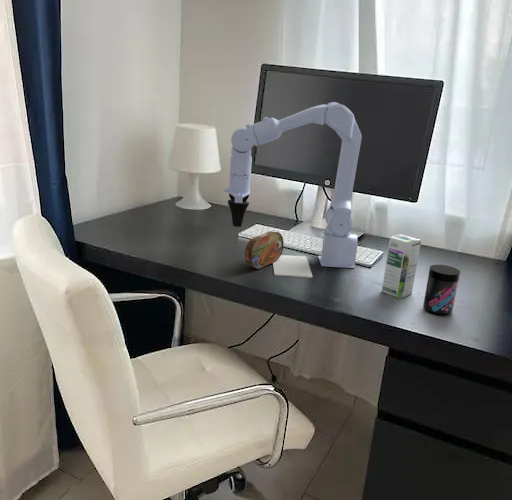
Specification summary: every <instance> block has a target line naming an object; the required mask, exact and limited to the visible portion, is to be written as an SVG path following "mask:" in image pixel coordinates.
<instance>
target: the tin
mask: <svg viewBox="0 0 512 500" xmlns="http://www.w3.org/2000/svg"><path fill="white" fill-rule="evenodd" d="M284 243H285V242H284V238H283V235H282V234H281V232H279V231H271V230H270V231H266V232H264V233H261V234H260V235H256V236H254V237H252V238H251V239H249V241H248V242H247V244H246V247H245V250H244V257H245V259H244V260H245V263H246V265H247V266H248V267H250V268H254V269H257V270H260V269H263V268H264V267H267V266H268V265H271V264H273V262H275V261H277V260H278V259H279V258H280V256H281V255H283V251H284Z"/></svg>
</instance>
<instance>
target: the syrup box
mask: <svg viewBox="0 0 512 500" xmlns="http://www.w3.org/2000/svg"><path fill="white" fill-rule="evenodd" d="M388 242H389V243H388V248H387V252H386V253H387V254H386V262H385V267H384V275H383V280H382V285H381V293H385V294H387V295H391V296H393V297H395V298H397V299H400V300H401V299H403V298H405V297H407V296H409V295H412V294H413V288H414V283H415V278H416V277H415V276H416V271H417V266H418V260H419V256H420V250H421V249H420V248H421V245H422V244H421V243H422V239H418V238H415V237H412V236H408V235H404V234H396V235H395V234H394V235H392V236H391V237H389V241H388Z"/></svg>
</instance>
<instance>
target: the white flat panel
mask: <svg viewBox="0 0 512 500" xmlns="http://www.w3.org/2000/svg"><path fill="white" fill-rule="evenodd" d="M272 269H273V275H274V277H275V276H276V277H292V278H307V279H310V278H311V279H312V278H313V273H312V270H311V267H310V265H309V261H308V257H307V256H303V255H288V254H287V255H286V254H281V256H280V258H279V259H278V260H277V261H275V262H273V263H272Z"/></svg>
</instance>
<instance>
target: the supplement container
mask: <svg viewBox="0 0 512 500" xmlns="http://www.w3.org/2000/svg"><path fill="white" fill-rule="evenodd" d="M460 274H461V270H460V269H458V268H456V267H454V266H451V265H446V264H431V265H430V266H429V270H428V275H427V282H426V288H425V292H424V293H425V294H424V299H423V303H422V305H423V306H422V307H423V310H424V311H425V312H426V313H428V314H430V315H433V316H438V317H447V316H450V315H452V314H453V310H454V305H455V300H456V294H457V289H458V286H459V285H458V284H459V280H460V276H461V275H460Z"/></svg>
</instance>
